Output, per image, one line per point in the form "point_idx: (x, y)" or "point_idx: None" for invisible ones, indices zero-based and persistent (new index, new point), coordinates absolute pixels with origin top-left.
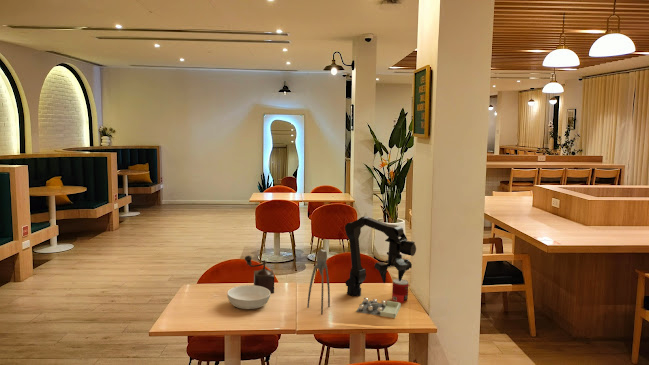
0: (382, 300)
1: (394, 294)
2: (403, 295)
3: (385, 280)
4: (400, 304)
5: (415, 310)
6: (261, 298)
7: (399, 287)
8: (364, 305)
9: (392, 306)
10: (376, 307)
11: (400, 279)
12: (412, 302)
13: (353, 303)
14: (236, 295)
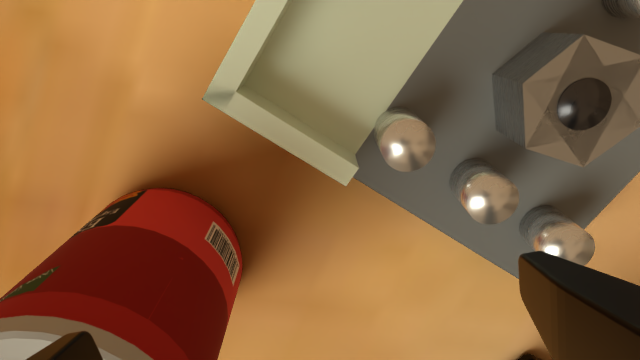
0: (417, 167)
1: (219, 277)
2: (118, 226)
3: (564, 282)
4: (218, 72)
5: (65, 6)
6: None
7: (133, 301)
8: (586, 176)
9: (305, 106)
10: (534, 50)
11: (48, 356)
12: (46, 220)
13: (616, 272)
14: None
